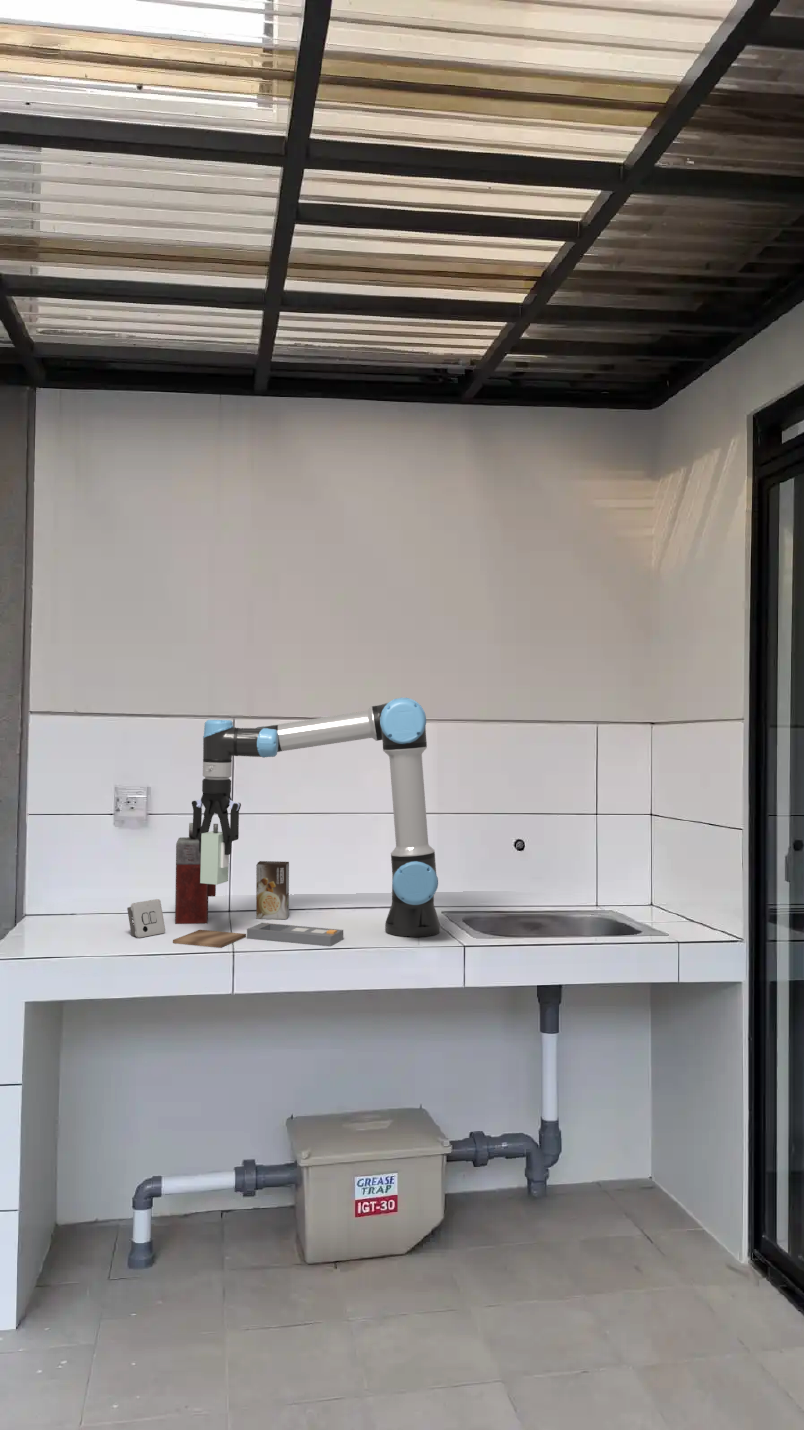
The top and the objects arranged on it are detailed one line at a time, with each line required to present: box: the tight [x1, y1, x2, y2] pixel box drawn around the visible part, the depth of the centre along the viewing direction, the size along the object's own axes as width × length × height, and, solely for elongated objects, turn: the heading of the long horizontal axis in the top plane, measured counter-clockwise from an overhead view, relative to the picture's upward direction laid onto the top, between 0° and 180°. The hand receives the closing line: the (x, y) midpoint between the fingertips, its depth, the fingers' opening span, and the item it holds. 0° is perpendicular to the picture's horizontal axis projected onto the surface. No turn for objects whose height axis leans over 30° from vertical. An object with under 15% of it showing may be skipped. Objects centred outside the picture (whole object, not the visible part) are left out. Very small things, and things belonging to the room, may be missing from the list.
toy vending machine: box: [174, 822, 217, 925], centre depth 312 cm, size 9×11×28 cm
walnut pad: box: [172, 929, 247, 949], centre depth 288 cm, size 14×14×1 cm
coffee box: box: [255, 860, 290, 920], centre depth 319 cm, size 9×6×16 cm
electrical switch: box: [126, 898, 166, 939], centre depth 293 cm, size 9×5×9 cm, turn 141°
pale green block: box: [200, 823, 230, 886], centre depth 288 cm, size 5×6×15 cm
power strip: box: [246, 922, 344, 947], centre depth 291 cm, size 24×9×3 cm, turn 71°
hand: (214, 866), depth 288 cm, fingers closed on pale green block, 5 cm apart
